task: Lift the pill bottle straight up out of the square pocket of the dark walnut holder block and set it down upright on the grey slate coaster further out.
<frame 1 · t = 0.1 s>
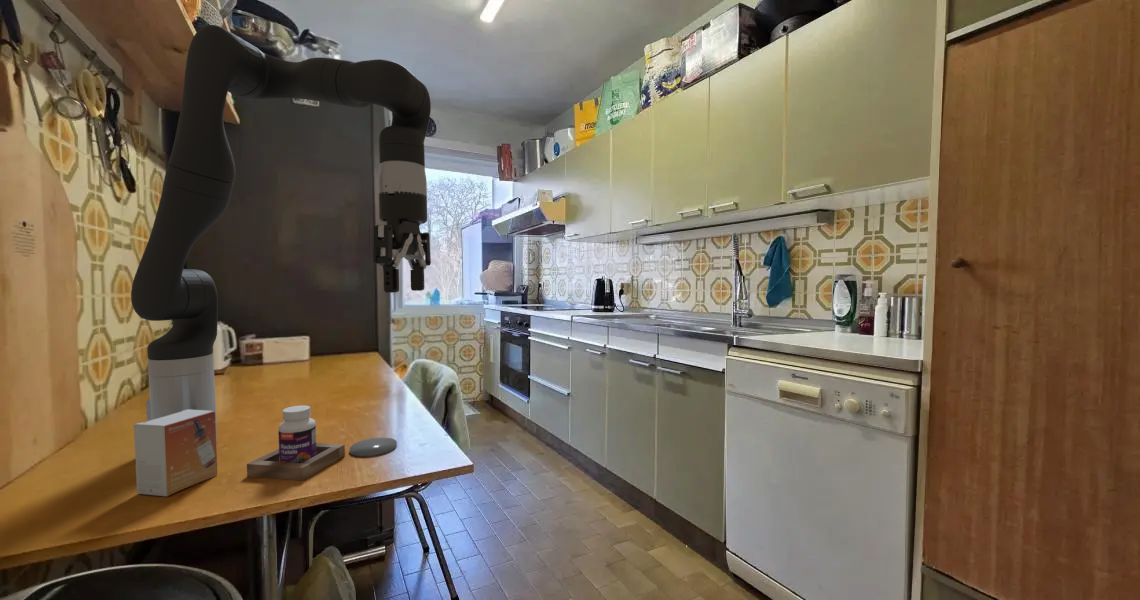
hand: (405, 291, 77), 29 cm above the table, tool pointing down, fingers open, 8 cm apart
pill bottle: (298, 466, 77), resting in holder
coaster: (373, 448, 85), on the table
small box: (179, 485, 70), on the table
holder: (298, 465, 77), on the table
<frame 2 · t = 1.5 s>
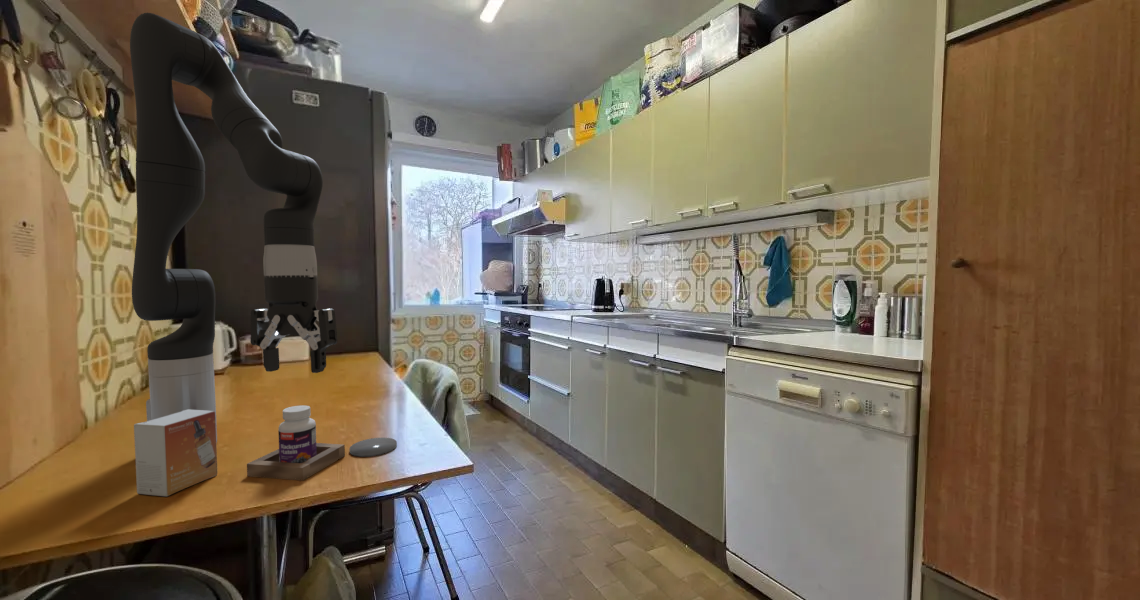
hand: (295, 371, 76), 16 cm above the table, tool pointing down, fingers open, 8 cm apart
nothing on the table moved.
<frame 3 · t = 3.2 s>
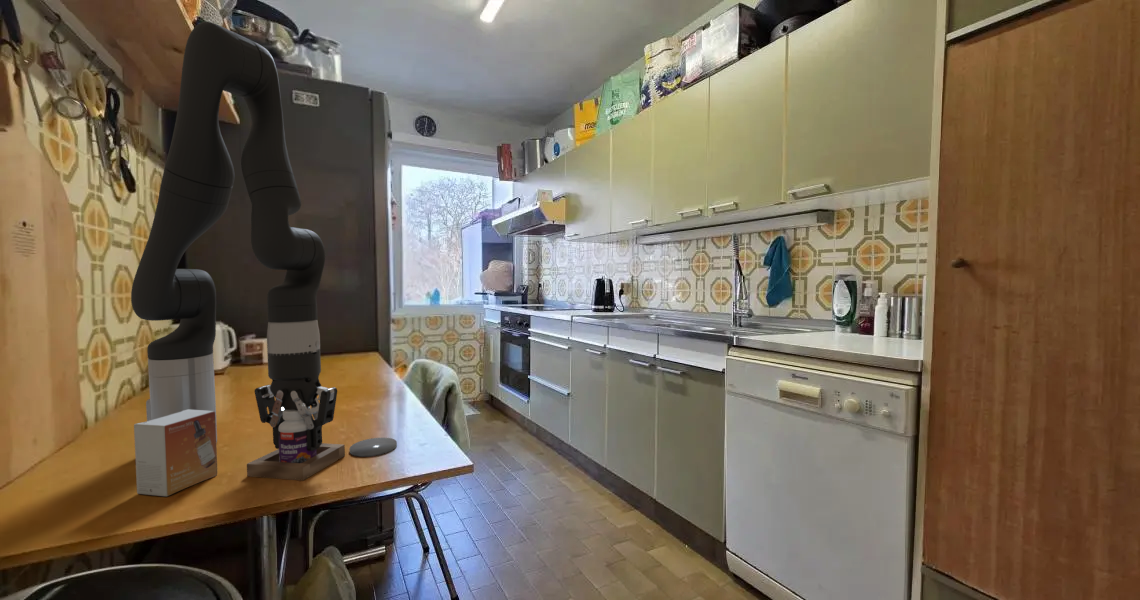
hand: (298, 447, 77), 3 cm above the table, tool pointing down, fingers closed on pill bottle, 5 cm apart
pill bottle: (298, 466, 77), resting in holder, touching gripper
everything else where it was.
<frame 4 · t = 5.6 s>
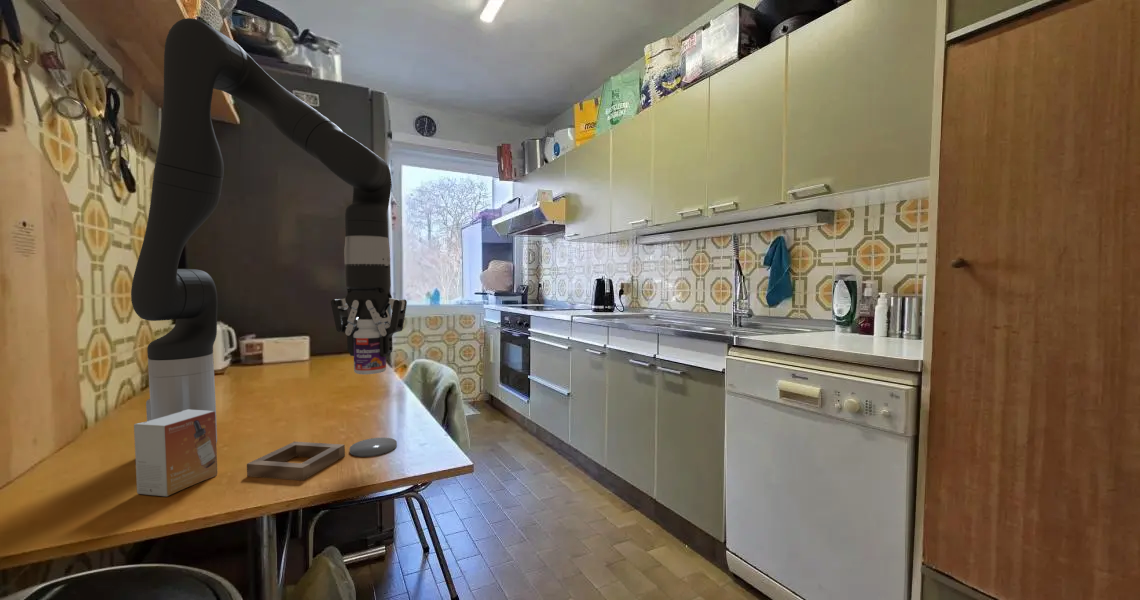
hand: (370, 355, 84), 17 cm above the table, tool pointing down, fingers closed on pill bottle, 5 cm apart
pill bottle: (370, 372, 84), point 14 cm above the table, touching gripper
everything else where it was.
when the fingers open (5 cm above the table, at t = 8.4 s): pill bottle stays where it is, resting on coaster.
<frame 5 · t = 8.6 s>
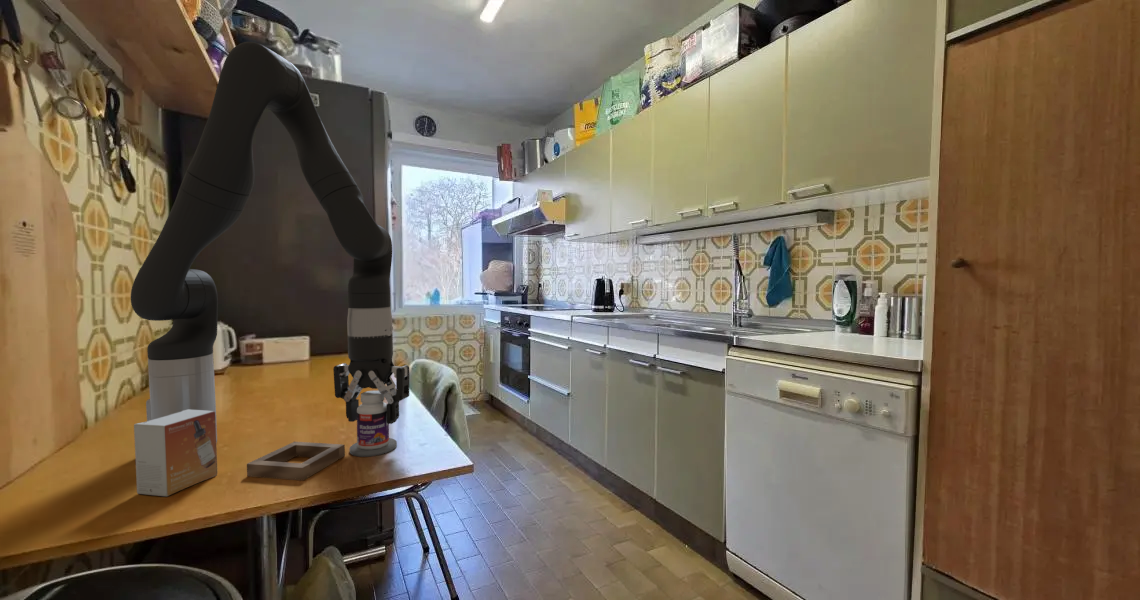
hand: (372, 421, 84), 5 cm above the table, tool pointing down, fingers open, 7 cm apart
pill bottle: (373, 446, 84), resting on coaster
everything else where it was.
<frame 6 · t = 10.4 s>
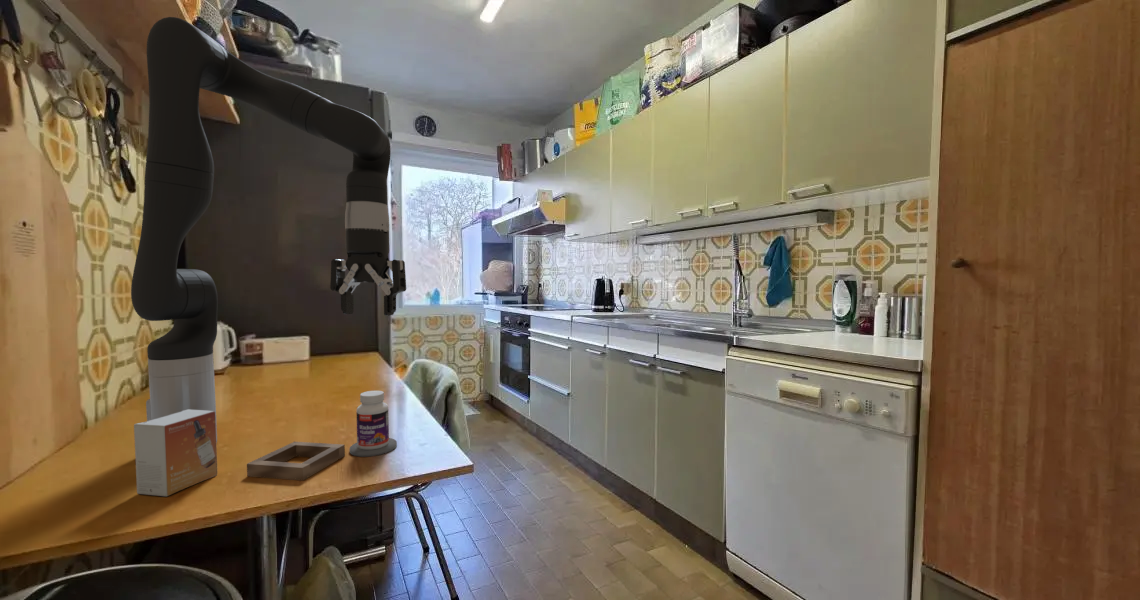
hand: (368, 314, 87), 24 cm above the table, tool pointing down, fingers open, 8 cm apart
nothing on the table moved.
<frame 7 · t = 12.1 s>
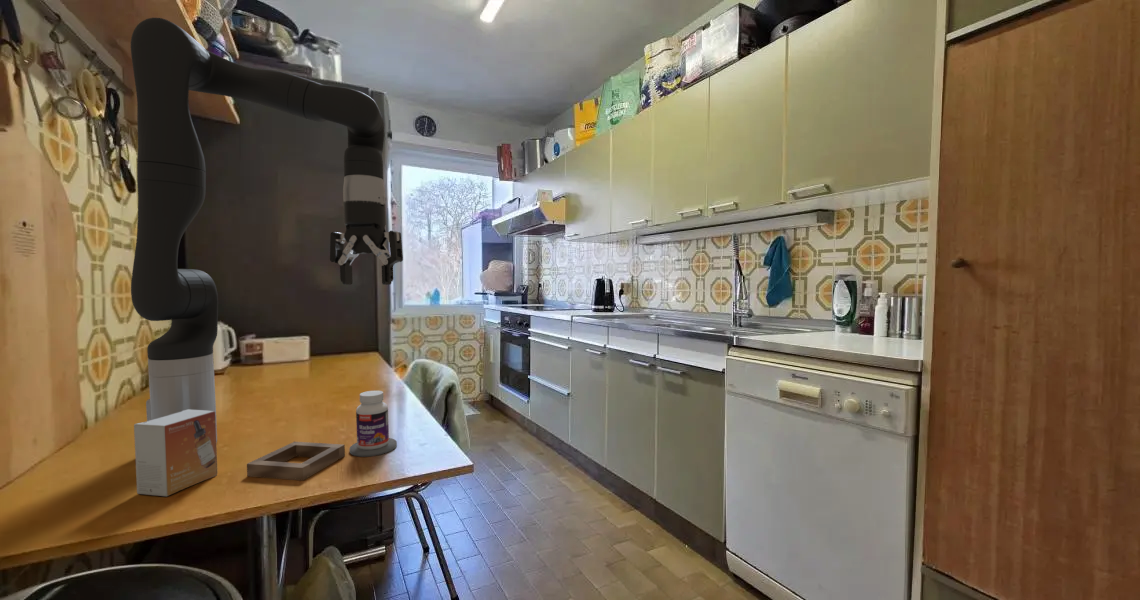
hand: (367, 284, 91), 30 cm above the table, tool pointing down, fingers open, 8 cm apart
nothing on the table moved.
at the end: pill bottle 0.1 cm from the coaster (horizontally); pill bottle tilted 0°; the gripper is holding nothing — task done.
